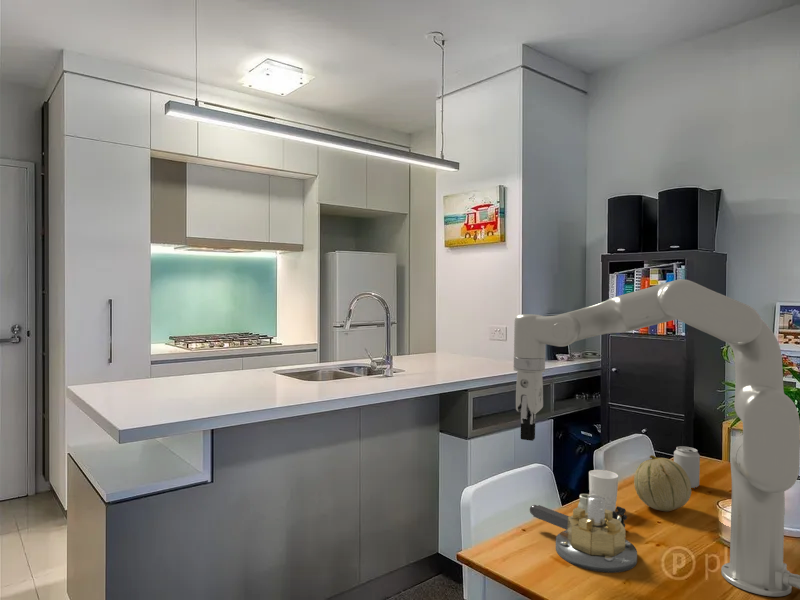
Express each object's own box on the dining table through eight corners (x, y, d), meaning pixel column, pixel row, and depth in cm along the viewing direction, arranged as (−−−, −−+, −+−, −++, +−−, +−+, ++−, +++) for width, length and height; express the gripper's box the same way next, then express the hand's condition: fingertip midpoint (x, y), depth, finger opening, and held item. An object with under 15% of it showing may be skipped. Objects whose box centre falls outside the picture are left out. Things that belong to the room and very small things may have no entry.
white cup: (582, 505, 159) (582, 471, 158) (603, 502, 162) (604, 468, 162) (602, 516, 151) (603, 480, 151) (623, 512, 154) (624, 476, 154)
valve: (571, 520, 148) (613, 536, 139) (572, 496, 148) (614, 510, 139) (585, 514, 152) (626, 529, 143) (586, 491, 152) (627, 504, 143)
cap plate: (648, 553, 130) (649, 498, 130) (618, 581, 117) (619, 520, 116) (576, 530, 142) (577, 479, 142) (541, 553, 129) (542, 497, 129)
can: (704, 489, 174) (704, 452, 174) (680, 489, 174) (681, 451, 174) (691, 481, 181) (692, 445, 181) (668, 481, 181) (669, 445, 181)
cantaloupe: (694, 523, 148) (696, 467, 148) (635, 515, 152) (636, 461, 152) (685, 503, 162) (686, 452, 162) (631, 496, 166) (632, 447, 166)
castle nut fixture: (632, 545, 128) (633, 517, 128) (605, 560, 121) (605, 530, 121) (544, 511, 148) (545, 487, 148) (515, 523, 140) (516, 497, 140)
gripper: (538, 369, 126) (536, 448, 126) (550, 362, 140) (548, 434, 140) (506, 367, 130) (504, 444, 130) (521, 360, 143) (519, 430, 143)
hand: (527, 439), depth 135 cm, fingers closed
